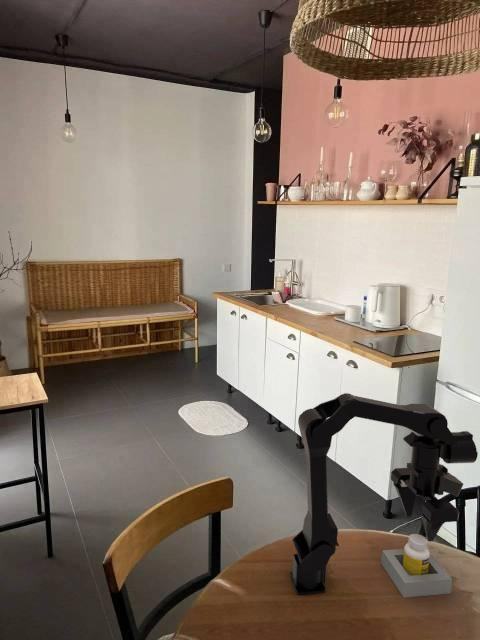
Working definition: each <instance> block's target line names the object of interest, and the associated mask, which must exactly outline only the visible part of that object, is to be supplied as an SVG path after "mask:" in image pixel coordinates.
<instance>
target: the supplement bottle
mask: <svg viewBox="0 0 480 640" xmlns="http://www.w3.org/2000/svg"><path fill="white" fill-rule="evenodd" d="M428 542H429V541H428V540H427V537H426V536H424V535H421V534H418V533H412V534H409V536H408V542H407V543H406V544H405V546H404V548H403V549H404V557H403V568H404V570H405V571H406V572H407V574H408V575H409V576H414V575H426V574H428V565H429V556H430V553H431V552H430V550H429V548H428ZM429 552H430V553H429Z"/></svg>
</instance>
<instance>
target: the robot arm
mask: <svg viewBox="0 0 480 640" xmlns="http://www.w3.org/2000/svg"><path fill="white" fill-rule="evenodd" d="M354 418H360V419H365V420H369V421H375V422H380V423H385V424H389V425H390V424H391V425H396V426H400V427H404V428H406V429H409V430H410V431H411V432H410V433H409V434H407V435H405V436H404V437H403V441H404V442H405V443H406V444H407V445H408V446H409V447H411V448H412V449H411V460H410V462H407V463H406V467H397V468H396V467H395V468H394V469H393V470H392V471H391V473H390V481H392V482H393V486H394V488H395V490H396V493H397V495H398V498H399V500H400V503H401V505H402V508H403V511H404V513H405V515H406V517H407V518H411V517H413V516H412V515H413V513H414V506H415V503H416V496H417V497H420V498H421V499H422V500H423V501H424V502H423V503H422V506H421V507H422V509H421V510H422V513H421V519H422V522H423V528H424V532H425V538H426V539H427V541H428V542H433V541H434V540H435V538H436V536H437V535H438V533H439V531H440V530H441V528H442V526H443V525H444V524H445V523H451V522H452V523H454V522H458V521H459V516H460V510H458V509H457V507H456V506H454V505H453V504H452V503H451V501H449V500H448V499H447V498H441V499H438V498H437V497H436V495H437V496H443V495H444V493H447V494H449V495H453V496H454V497H456V498H457V497H459V495H460V493H461V490H462V488H463V486H464V483H463V481H461V480H460V479H459V478H457V476H454V475H453V474H451V473H450V472H449V469H448V468H447V466H445V465H444V464H441V463H440V461H441V460H443V462H444V463H445V464H448V465H449V464H473V463H476V461H477V459H478V454H479V453H478V449H477V445H476V442H475V441H474V438H473V437H474V435H473V434H472V433H471V432H469V431H467V430H464V431H455V432H453V431H451V430H450V428H449V427H448V425H449V424H448V419H447V418H446V415H444V414H443V413H441V412H440V411H438V410H437V409H435V408H434V407H433V406H431V405H428V404H426V403H408V404H396V403H392V402H386V401H381V400H377V399H373V398H372V399H371V398H368V397H363V396H357V395H353V394H351V393H349V392H348V393H347V392H345V393H342V394H340V395H339V396H337V397H335V398H333V399H330V400H326V401H324V402H321V403H319V404H318V405H316V406H315V407H313V408H308V409H305V410H304V411H302V413H300V415H299V416H298V420H297V421H298V422H297V424H298V427H299V433H300V436H301V441H302V444H303V447H304V450H305V461H306V462H305V463H306V464H305V465H306V466H305V468H306V491H307V492H306V493H307V494H306V495H307V496H306V497H307V512H306V515H305V517H304V519H303V525H302V530H300V532H298V533H297V534H296V535H295V536H294V537H293V538H292V539H291V540H292V543H293V546H294V548H295V552H296V553H294V554H293V558H292V571H291V572H290V573H289V576H290V578H291V581H292V585H293V586H294V590H295V592H296V594H297V595H309V594H319V593H320V594H321V593H326V592H327V591H326V590H327V589H326V586H325V585H324V584H326V578H327V566H328V562H329V561H330V558H331V557H333V556H334V555H335V553H336V549H337V547H339V546H340V545H339V542H338V532H339V528H338V527H337V524H336V522H335V520H334V519H333V517H332V515H331V513H330V512H329V511H328V510H329V507H328V477H327V476H328V475H327V474H328V472H327V469H328V468H327V455H328V453H329V451H330V449H331V446H332V440H333V436H334V435H336V434H338V433H340V431H342V430H343V428H344V427H346V425H347V424H348V423H349V422H350V421H351V420H352V419H354Z"/></svg>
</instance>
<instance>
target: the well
mask: <svg viewBox="0 0 480 640" xmlns="http://www.w3.org/2000/svg"><path fill="white" fill-rule="evenodd" d="M429 553H430V556H429V565H428V574H426V575H414V576H409V575H408V574H407V572H406V571H405V570H404V568H403V557H404V548H397V549H394V548H393V549H383V550H382V551H381V560H380V561H381V563H380V564H381V566H382V567H383V569H384V570H385V572H386V574H387V575H388V576H389V577H390V579H391V581H392V582H393V584H394V585H395V586H396V589H397V590H398V591H399V593H400V595H401V596H402V598H404V599H406V598H414V597H415V598H416V597H427V596H438V595H439V596H440V595H450V594H451V592H452V585H453V579H452V577H451V576H450V575H449V573H448V572H447V571H446V570H445V569H444V567H443V566H442V565H441V563H440V562H439V561H438V560H437V559H436V558H435V557H434V555H433V554H432V553H431V552H430V551H429Z"/></svg>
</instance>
